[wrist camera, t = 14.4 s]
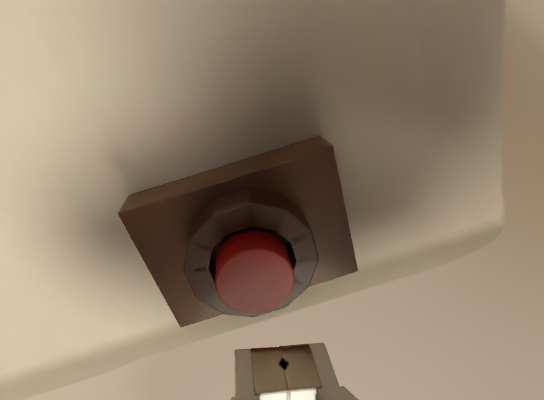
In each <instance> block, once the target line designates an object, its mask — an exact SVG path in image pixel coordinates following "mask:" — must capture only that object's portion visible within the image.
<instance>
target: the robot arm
mask: <svg viewBox="0 0 544 400" xmlns="http://www.w3.org/2000/svg"><path fill="white" fill-rule="evenodd" d="M231 400H358V399H357V398H356V397H355V396H354V395H353V394H352V393H351V392H349V391H348V390H347V389H346V388H345V387H344V386H341V387H339V384H338V381H337V378H336V376H335V373H334V370H333V367H332V364H331V361H330V358H329V355H328V353H327V350H326V347H325V345H324V344H323V343H314V344H300V345H289V346H279V347H270V348H253V349H238V350H235V397H234V398H232V399H231Z"/></svg>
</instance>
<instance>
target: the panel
mask: <svg viewBox="0 0 544 400" xmlns="http://www.w3.org/2000/svg"><path fill="white" fill-rule="evenodd" d="M118 215H119V217H120V219H121V220H122V222H123V224H124V226H125V228H126V229H127V231H128V233H129V235H130V237H131V238H132V240H133V242H134V244H135V246H136V248H137V249H138V251H139V253H140V255H141V257H142V258H143V260H144V262H145V264H146V266H147V267H148V269H149V271H150V273H151V275H152V276H153V278H154V280H155V282H156V284H157V285H158V287H159V289H160V291H161V293H162V294H163V296H164V298H165V300H166V302H167V303H168V305H169V307H170V309H171V311H172V313H173V314H174V316H175V318H176V320H177V322H178V323H179V325H180V327H184V326H187V325H190V324H193V323H196V322H200V321H203V320H206V319H209V318H212V317H215V316H218V315H221V314H228V315H239V316H249V317H256V316H260V315H263V314H266V313H269V312H272V311H275V310H278V309H281V308H285V307H286V306H287V305H289V304H290V303H291V302H292V301H293V300H294V299H295V298H296V297H298V296H299V295H300V294H301V293H302V292H303V291H304V290H305V289H307V288H308V287H309V286H312V285H315V284H319V283H322V282H325V281H328V280H331V279H334V278H337V277H340V276H344V275H347V274H350V273H353V272H356V271H357V270H358V269H357V264H356V259H355V254H354V249H353V244H352V239H351V234H350V229H349V224H348V219H347V214H346V209H345V204H344V199H343V194H342V189H341V184H340V179H339V174H338V169H337V164H336V159H335V154H334V148H333V146H332V145H331V144H330V143H329V142H327V141H326V140H325V139H324V138H323V137H322V136H318V137H315V138H311V139H308V140H305V141H302V142H299V143H295V144H292V145H289V146H286V147H283V148H280V149H276V150H273V151H270V152H267V153H264V154H260V155H257V156H254V157H251V158H248V159H244V160H241V161H238V162H235V163H232V164H228V165H225V166H222V167H219V168H216V169H213V170H209V171H206V172H203V173H200V174H197V175H193V176H190V177H187V178H184V179H181V180H177V181H174V182H171V183H168V184H165V185H161V186H158V187H155V188H152V189H149V190H146V191H142V192H139V193H136V194H133V195H130V196H128V198H127V199H126V201H125V203H124V204H123V206H122V208H121V209H120V211H119V213H118ZM247 230H262V231H266V232H269V233H271V234H273V235H275V236H276V237H278V238H279V239H280V240H281V241H282V242H283V244H284V245H285V247H286V250H287V253H288V256H289V259H290V262H291V265H292V268H293V271H294V284H293V287H292V290H291V292H290V293H289V295H288V296H287V297H286V299H285V300H284V301H283V302H281V303H280V304H279V305H277V306H276V307H274V308H272V309H269V310H267V311H263V312H258V313H245V312H240V311H237V310H234V309H232V308H230V307H229V306H227V305H226V304H225V303H224V302H223V301H222V300H221V299H220V297H219V295H218V293H217V291H216V286H215V276H216V256H217V253H218V251H219V249H220V247H221V246H222V244H223V243H224V242H225V241H226V240H227V239H229V238H230V237H231V236H233V235H235V234H237V233H240V232H243V231H247Z"/></svg>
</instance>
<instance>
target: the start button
mask: <svg viewBox="0 0 544 400" xmlns="http://www.w3.org/2000/svg"><path fill="white" fill-rule="evenodd" d="M293 284H294V271H293V268H292V265H291V262H290V259H289V256H288V253H287V250H286V247H285V245H284V244H283V242H282V241H281V240H280V239H279V238H278V237H276V236H275V235H273V234H271V233H269V232H266V231H262V230H247V231H243V232H240V233H237V234H235V235H233V236H231V237H230V238H229V239H227V240H226V241H225V242H224V243H223V244H222V246H221V247H220V249H219V251H218V253H217V256H216V276H215V286H216V291H217V293H218V295H219V297H220V299H221V300H222V301H223V302H224V303H225V304H226V305H227V306H229V307H230V308H232V309H234V310H237V311H240V312H245V313H258V312H263V311H267V310H269V309H272V308H274V307H276V306H277V305H279V304H280V303H281V302H283V301H284V300H285V299H286V297H287V296H288V295H289V293H290V292H291V290H292V287H293Z"/></svg>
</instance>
